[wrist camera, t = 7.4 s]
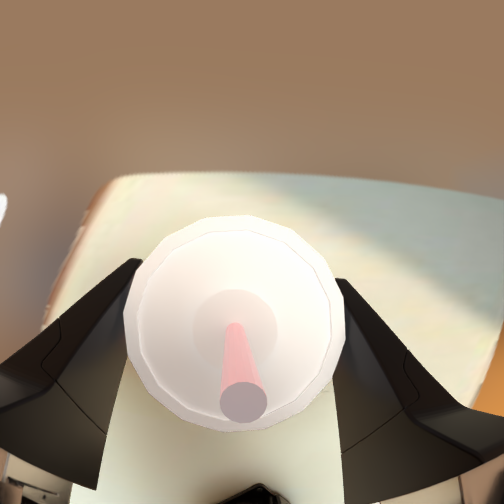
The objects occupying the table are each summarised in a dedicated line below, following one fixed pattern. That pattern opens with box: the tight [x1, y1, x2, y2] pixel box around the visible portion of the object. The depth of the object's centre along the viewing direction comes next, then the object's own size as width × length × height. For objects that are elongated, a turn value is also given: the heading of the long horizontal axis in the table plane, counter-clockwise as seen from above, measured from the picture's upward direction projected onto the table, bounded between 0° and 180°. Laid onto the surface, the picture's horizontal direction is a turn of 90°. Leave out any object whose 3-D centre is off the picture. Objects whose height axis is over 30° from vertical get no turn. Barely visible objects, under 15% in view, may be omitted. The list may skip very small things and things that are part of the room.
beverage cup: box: [123, 215, 345, 432], centre depth 10 cm, size 6×6×14 cm
